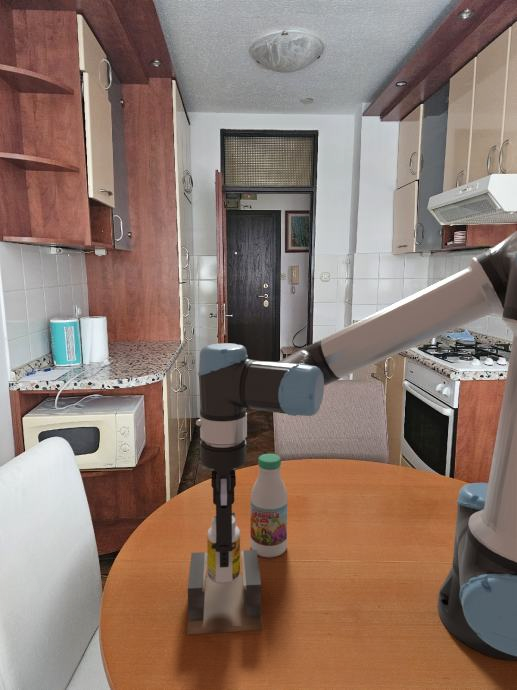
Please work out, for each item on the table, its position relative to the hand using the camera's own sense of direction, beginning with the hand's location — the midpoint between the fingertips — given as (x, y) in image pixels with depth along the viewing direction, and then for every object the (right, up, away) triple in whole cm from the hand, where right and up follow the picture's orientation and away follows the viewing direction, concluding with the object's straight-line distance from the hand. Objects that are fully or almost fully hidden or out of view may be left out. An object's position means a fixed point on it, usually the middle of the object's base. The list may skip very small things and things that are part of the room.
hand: (224, 567), depth 74 cm
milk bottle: (+8, -5, +17) cm, 19 cm away
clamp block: (0, -7, +1) cm, 7 cm away
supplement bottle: (0, -1, 0) cm, 2 cm away
